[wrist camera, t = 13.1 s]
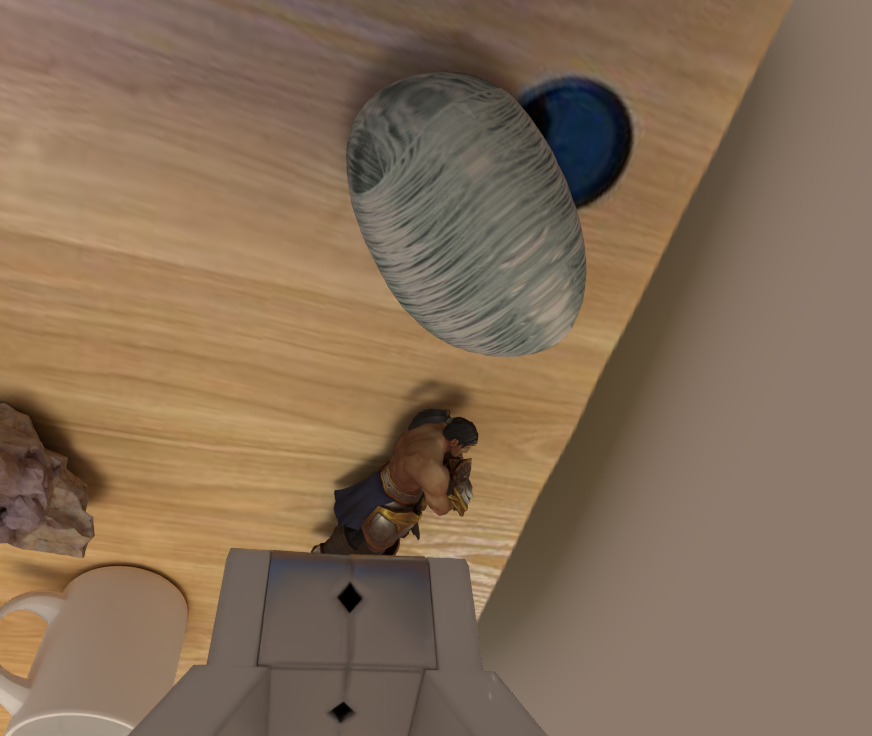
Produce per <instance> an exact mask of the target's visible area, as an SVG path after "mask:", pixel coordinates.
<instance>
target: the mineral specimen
mask: <svg viewBox="0 0 872 736" xmlns="http://www.w3.org/2000/svg"><path fill="white" fill-rule="evenodd" d="M67 460H68V457H66V456H63V455H61V454H58V453H56V452H53V451H50V450H48V449H46V448H44V447H43V444H42V443H41V442H40V440H39V437H38V434H37V432H36V431H35V429H34V428H33V424H32V421H31V417H29V416H28V415H26V414H23V413H20V412H18V411H16V410H15V409H13V408H12V407H10V406H9V405H7V404H6V403H0V543H8V544H10V545H13V546H15V547H18V548H20V549H27V550H34V551H41V552H49V553H55V554H61V555H69V556H74V557H79V558H84V555H85V550H86V547H87V544H88V542H89V541H90V540H91V539H92V538H93V537H94V536H95V534H94V524H93V517H92V516H91V515H89V514H88V513H86V508H87V503H88V498H89V496H88V494H87V492H86V490H85V488H86V487H87V486H88V485H87V484H86V483H84V482H83V481H82V480H81V479H80V478H78V477H76V476H75V475H73V474H72V473H71V472H70V471H69V470H67V469H66V467H67Z"/></svg>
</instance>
